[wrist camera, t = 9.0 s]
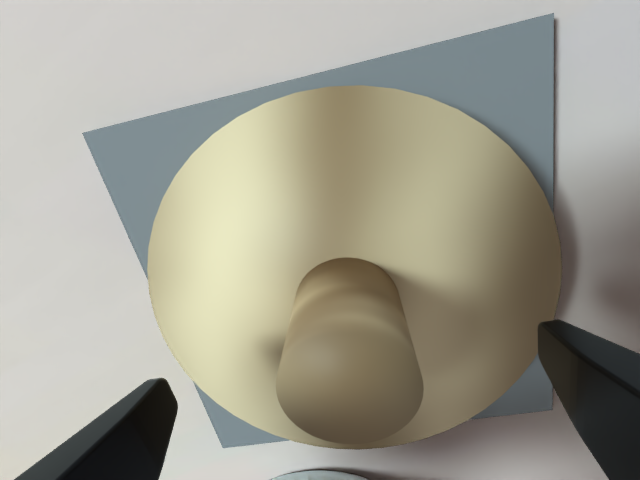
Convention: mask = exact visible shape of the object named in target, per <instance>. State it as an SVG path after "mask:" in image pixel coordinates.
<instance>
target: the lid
mask: <svg viewBox="0 0 640 480" xmlns="http://www.w3.org/2000/svg"><path fill="white" fill-rule="evenodd" d="M147 273H148V284H149V294H150V298H151V302H152V306H153V311H154V315H155V318H156V320H157V323H158V325H159V328H160V330H161V333H162V336H163V338H164V339H165V341H166V343H167V345H168V347H169V349H170V350H171V352H172V354H173V356H174V357H175V359H176V360H177V361H178V363H179V364H180V365H181V367H182V368H183V370H184V371H185V372H186V374H187V375H188V376H189V377H190V378H191V379H192V380H193V381H194V382H195V383H196V385H197V386H198V387H199V388H200V389H201V390H202V391H203V392H205V393H206V394H207V395H208V396H209V397H210V398H211V399H213V400H214V401H215V402H216V403H217V404H219V405H220V406H222V407H223V408H224V409H226V410H227V411H229V412H230V413H232V414H233V415H234V416H236V417H238V418H240V419H242V420H243V421H245V422H247V423H249V424H251V425H252V426H254V427H257V428H259V429H261V430H264V431H266V432H268V433H271V434H273V435H276V436H279V437H282V438H285V439H288V440H291V441H295V442H299V443H304V444H308V445H313V446H319V447H327V448H336V449H372V448H384V447H390V446H396V445H402V444H407V443H410V442H414V441H418V440H422V439H425V438H428V437H431V436H434V435H436V434H439V433H442V432H444V431H447V430H449V429H451V428H453V427H455V426H457V425H459V424H461V423H463V422H465V421H467V420H468V419H470V418H472V417H473V416H475V415H476V414H478V413H480V412H481V411H483V410H484V409H486V408H487V407H488V406H490V405H491V404H492V403H493V402H495V401H496V400H497V399H498V398H500V397H501V396H502V395H503V394H504V393H505V392H506V391H507V390H508V389H509V388H510V387H511V386H512V385H513V384H514V383H515V382H516V381H517V380H518V379H519V378H520V377H521V375H522V374H523V373H524V372H525V370H526V369H527V368H528V366H529V365H530V364H531V362H532V361H533V360H534V358H535V356H536V355H537V353H538V331H537V329H538V324H539V323H540V322H544V321H551V320H553V319H554V317H555V312H556V308H557V304H558V300H559V296H560V289H561V277H562V259H561V245H560V240H559V235H558V231H557V227H556V223H555V219H554V216H553V213H552V211H551V209H550V206H549V204H548V201H547V199H546V197H545V194H544V192H543V190H542V189H541V187H540V186H539V184H538V182H537V181H536V179H535V178H534V176H533V174H532V173H531V171H530V170H529V168H528V167H527V166H526V164H525V163H524V162H523V161H522V160H521V159H520V158H519V157H518V155H517V154H516V153H515V152H514V151H513V150H512V149H511V147H510V146H509V145H508V144H506V143H505V142H504V141H503V140H502V139H500V138H499V137H498V136H497V135H496V134H494V133H493V132H492V131H491V130H490V129H488V128H487V127H486V126H485V125H483V124H481V123H480V122H478V121H476V120H475V119H473V118H471V117H470V116H468V115H466V114H465V113H463V112H461V111H460V110H458V109H456V108H453V107H451V106H449V105H446V104H444V103H441V102H439V101H436V100H434V99H432V98H429V97H426V96H422V95H418V94H414V93H410V92H406V91H402V90H399V89H393V88H384V87H374V86H364V85H356V86H330V87H324V88H318V89H313V90H307V91H302V92H296V93H293V94H290V95H287V96H284V97H281V98H278V99H275V100H272V101H269V102H266V103H264V104H262V105H260V106H258V107H256V108H254V109H252V110H250V111H248V112H246V113H244V114H242V115H240V116H238V117H237V118H235V119H234V120H232V121H231V122H230V123H228V124H227V125H225V126H224V127H222V128H221V129H220V130H218V131H217V132H215V133H214V134H213V135H212V136H210V137H209V138H208V139H207V140H206V141H205V142H204V143H203V144H202V145H201V146H200V147H199V148H198V149H197V150H196V151H195V152H194V153H193V154H192V155H191V156H190V157H189V159H188V160H187V161H186V162H185V164H184V165H183V166H182V168H181V169H180V170H179V171H178V173H177V174H176V175H175V177H174V179H173V181H172V182H171V184H170V186H169V188H168V190H167V191H166V193H165V195H164V197H163V199H162V201H161V204H160V206H159V209H158V212H157V215H156V217H155V220H154V223H153V227H152V232H151V237H150V242H149V247H148V266H147Z"/></svg>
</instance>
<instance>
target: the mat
mask: <svg viewBox="0 0 640 480" xmlns="http://www.w3.org/2000/svg"><path fill="white" fill-rule="evenodd" d="M356 85H364V86H374V87H384V88H393V89H399V90H402V91H406V92H410V93H414V94H418V95H422V96H426V97H429V98H432V99H434V100H436V101H439V102H441V103H444V104H446V105H449V106H451V107H453V108H456V109H458V110H460V111H461V112H463V113H465V114H466V115H468V116H470V117H471V118H473V119H475V120H476V121H478V122H480V123H481V124H483V125H485V126H486V127H487V128H488V129H490V130H491V131H492V132H493V133H494V134H496V135H497V136H498V137H499V138H500V139H502V140H503V141H504V142H505V143H506V144H508V145H509V146H510V147H511V149H512V150H513V151H514V152H515V153H516V154H517V155H518V157H519V158H520V159H521V160H522V161H523V162H524V163H525V164H526V166H527V167H528V168H529V170H530V171H531V173H532V174H533V176H534V178H535V179H536V181H537V182H538V184H539V186H540V187H541V189H542V190H543V192H544V194H545V197H546V199H547V201H548V204H549V206H550V209H551V211H552V213H553V115H554V13H552V14H548V15H544V16H540V17H536V18H532V19H529V20H525V21H521V22H517V23H513V24H509V25H505V26H501V27H497V28H493V29H489V30H485V31H481V32H477V33H474V34H470V35H466V36H462V37H458V38H454V39H450V40H446V41H442V42H438V43H434V44H430V45H426V46H422V47H419V48H415V49H411V50H407V51H403V52H399V53H395V54H391V55H387V56H383V57H379V58H375V59H371V60H367V61H364V62H360V63H356V64H352V65H348V66H344V67H340V68H336V69H332V70H328V71H324V72H320V73H316V74H312V75H309V76H305V77H301V78H297V79H293V80H289V81H285V82H281V83H277V84H273V85H269V86H265V87H261V88H257V89H254V90H250V91H246V92H242V93H238V94H234V95H230V96H226V97H222V98H218V99H214V100H210V101H206V102H202V103H199V104H195V105H191V106H187V107H183V108H179V109H175V110H171V111H167V112H163V113H159V114H155V115H151V116H147V117H144V118H140V119H136V120H132V121H128V122H124V123H120V124H116V125H112V126H108V127H104V128H100V129H96V130H92V131H88V132H85V133H82V134H83V136H84V138H85V140H86V142H87V145H88V147H89V149H90V151H91V154H92V156H93V158H94V160H95V163H96V165H97V167H98V169H99V172H100V174H101V176H102V178H103V181H104V183H105V185H106V187H107V190H108V192H109V194H110V196H111V198H112V201H113V203H114V205H115V207H116V210H117V212H118V214H119V216H120V219H121V221H122V223H123V225H124V228H125V230H126V232H127V234H128V237H129V239H130V241H131V243H132V246H133V248H134V250H135V252H136V254H137V257H138V259H139V261H140V263H141V266H142V268H143V270H144V272H145V275H146V277H147V279H148V273H147V266H148V247H149V242H150V237H151V232H152V227H153V223H154V220H155V217H156V215H157V212H158V209H159V206H160V204H161V201H162V199H163V197H164V195H165V193H166V191H167V190H168V188H169V186H170V184H171V182H172V181H173V179H174V177H175V175H176V174H177V173H178V171H179V170H180V169H181V168H182V166H183V165H184V164H185V162H186V161H187V160H188V159H189V157H190V156H191V155H192V154H193V153H194V152H195V151H196V150H197V149H198V148H199V147H200V146H201V145H202V144H203V143H204V142H205V141H206V140H207V139H208V138H209V137H210V136H212V135H213V134H214V133H215V132H217V131H218V130H220V129H221V128H222V127H224V126H225V125H227V124H228V123H230V122H231V121H232V120H234V119H235V118H237V117H238V116H240V115H242V114H244V113H246V112H248V111H250V110H252V109H254V108H256V107H258V106H260V105H262V104H264V103H266V102H269V101H272V100H275V99H278V98H281V97H284V96H287V95H290V94H293V93H296V92H302V91H307V90H313V89H318V88H324V87H330V86H356ZM193 382H194V381H193ZM194 384H195V387H196V389H197V391H198V393H199V396H200V398H201V400H202V402H203V405H204V407H205V409H206V411H207V414H208V416H209V418H210V420H211V423H212V425H213V427H214V429H215V431H216V434H217V436H218V438H219V440H220V443H221V445H222V447H223V448H228V447H237V446H245V445H254V444H263V443H271V442H280V441H289V440H288V439H285V438H282V437H279V436H276V435H273V434H271V433H268V432H266V431H264V430H261V429H259V428H257V427H254V426H252V425H251V424H249V423H247V422H245V421H243V420H242V419H240V418H238V417H236V416H234V415H233V414H232V413H230V412H229V411H227V410H226V409H224V408H223V407H222V406H220V405H219V404H217V403H216V402H215V401H214V400H213V399H211V398H210V397H209V396H208V395H207V394H206V393H205V392H203V391H202V390H201V389H200V388H199V387H198V386H197V385H196V383H195V382H194ZM552 397H553V385H552V383H551V381H550V379H549V378H548V376H547V374H546V372H545V370H544V368H543V366H542V364H541V362H540V360H539V356H538V353H537V355H536V356H535V358H534V360H533V361H532V362H531V364H530V365H529V366H528V368H527V369H526V370H525V372H524V373H523V374H522V375H521V377H520V378H519V379H518V380H517V381H516V382H515V383H514V384H513V385H512V386H511V387H510V388H509V389H508V390H507V391H506V392H505V393H504V394H503V395H502V396H501V397H500V398H498V399H497V400H496V401H495V402H493V403H492V404H491V405H490V406H488V407H487V408H486V409H484V410H483V411H481V412H480V413H478V414H476V415H475V416H473V417H472V418H470V419H478V418H487V417H496V416H504V415H513V414H522V413H530V412H539V411H548V410H552ZM470 419H468V420H470Z"/></svg>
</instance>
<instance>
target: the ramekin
mask: <svg viewBox="0 0 640 480" xmlns="http://www.w3.org/2000/svg"><path fill="white" fill-rule="evenodd" d="M271 480H369V479H367V478H364V477H361V476H358V475H354V474H349V473H344V472H338V471H325V470H310V471H302V472H295V473H290V474H286V475H282V476H279V477H276V478H274V479H271Z"/></svg>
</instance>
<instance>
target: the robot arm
mask: <svg viewBox="0 0 640 480" xmlns="http://www.w3.org/2000/svg"><path fill="white" fill-rule="evenodd" d="M537 331H538V356H539V360H540V362H541V364H542V366H543V368H544V370H545V372H546V374H547V376H548V378H549V379H550V381H551V383H552V385H553V387H554V389H555V391H556V393H557V395H558V397H559V399H560V400H561V402H562V404H563V406H564V408H565V410H566V412H567V414H568V416H569V418H570V419H571V421H572V423H573V425H574V427H575V428H576V430H577V432H578V433H579V435H580V436H581V438H582V439H583V441H584V443H585V444H586V446H587V447H588V449H589V450H590V452H591V453H592V455H593V456H594V458H595V459H596V461H597V462H598V464H599V465H600V467H601V468H602V470H603V471H604V473H605V474H606V476H607V477H608V479H609V480H640V354H638V353H636V352H634V351H631V350H629V349H627V348H624V347H622V346H620V345H617V344H615V343H613V342H610V341H608V340H606V339H603V338H601V337H599V336H596V335H594V334H592V333H589V332H587V331H585V330H582V329H580V328H578V327H575V326H573V325H571V324H568V323H566V322H564V321H561V320H551V321H544V322H540V323H539V324H538V329H537ZM177 410H178V404H177V401H176V398H175V396H174V394H173V392H172V390H171V388H170V386H169V384H168V382H167V380H166V379H164V378H157V379H150V380H147V381H146V382H144V383H143V384H142V385H140V386H139V387H138V388H136V389H135V390H134V391H132V392H131V393H130V394H128V395H127V396H126V397H124V398H123V399H121V400H120V401H119V402H117V403H116V404H115V405H113V406H112V407H111V408H109V409H108V410H107V411H105V412H104V413H103V414H101V415H100V416H99V417H97V418H96V419H95V420H93V421H92V422H91V423H89V424H88V425H87V426H85V427H84V428H83V429H81V430H80V431H79V432H77V433H76V434H75V435H73V436H72V437H71V438H69V439H68V440H67V441H65V442H64V443H62V444H61V445H60V446H58V447H57V448H56V449H54V450H53V451H52V452H50V453H49V454H48V455H46V456H45V457H44V458H42V459H41V460H40V461H38V462H37V463H36V464H34V465H33V466H32V467H30V468H29V469H28V470H26V471H25V472H24V473H22V474H21V475H20V476H18V477H17V478H16V479H14V480H158V479H159V476H160V473H161V470H162V467H163V463H164V460H165V456H166V452H167V448H168V445H169V441H170V437H171V433H172V430H173V426H174V422H175V419H176V415H177Z"/></svg>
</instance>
